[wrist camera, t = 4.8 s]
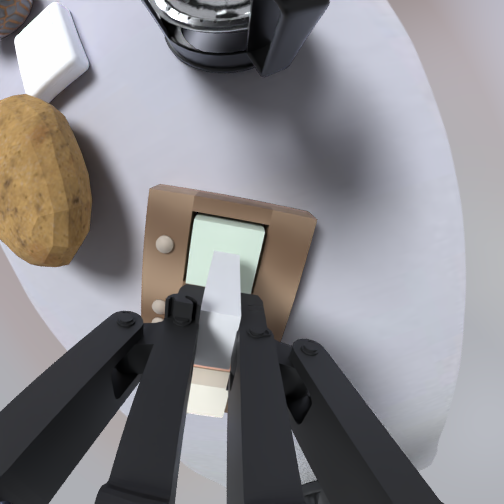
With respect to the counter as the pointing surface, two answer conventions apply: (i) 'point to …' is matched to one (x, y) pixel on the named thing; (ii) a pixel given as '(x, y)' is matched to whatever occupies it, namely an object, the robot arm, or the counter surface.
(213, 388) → the cream button
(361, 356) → the counter surface
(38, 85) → the soap
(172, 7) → the french press
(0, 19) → the vase
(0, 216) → the potato
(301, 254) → the console
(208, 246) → the sage button
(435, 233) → the counter surface
